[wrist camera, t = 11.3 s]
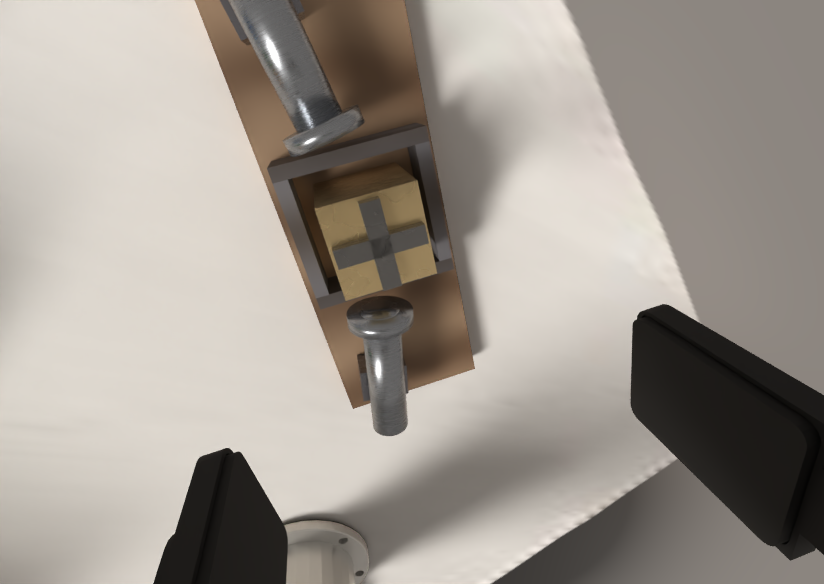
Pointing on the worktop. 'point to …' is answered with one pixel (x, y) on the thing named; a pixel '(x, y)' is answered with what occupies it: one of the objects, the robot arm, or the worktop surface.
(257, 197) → the worktop surface
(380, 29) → the stand
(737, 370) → the robot arm
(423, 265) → the coupling block
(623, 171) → the worktop surface
